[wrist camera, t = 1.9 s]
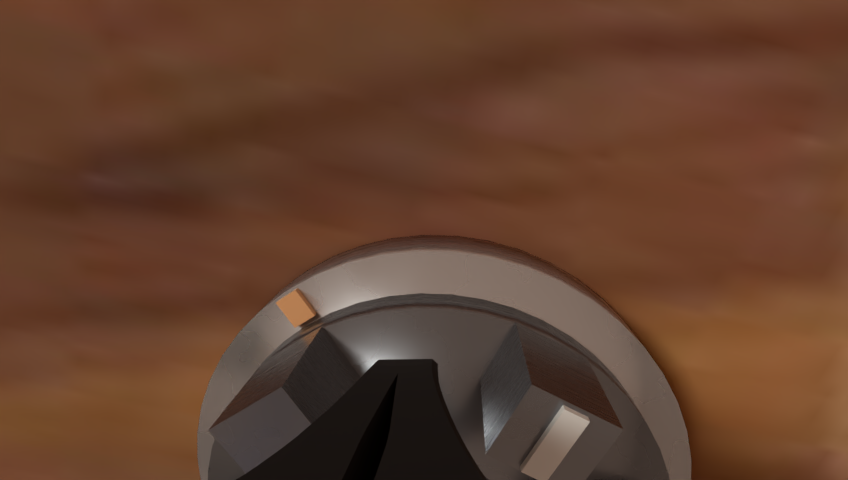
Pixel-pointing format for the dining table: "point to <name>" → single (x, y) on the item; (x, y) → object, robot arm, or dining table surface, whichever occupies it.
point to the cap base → (465, 276)
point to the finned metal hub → (452, 390)
